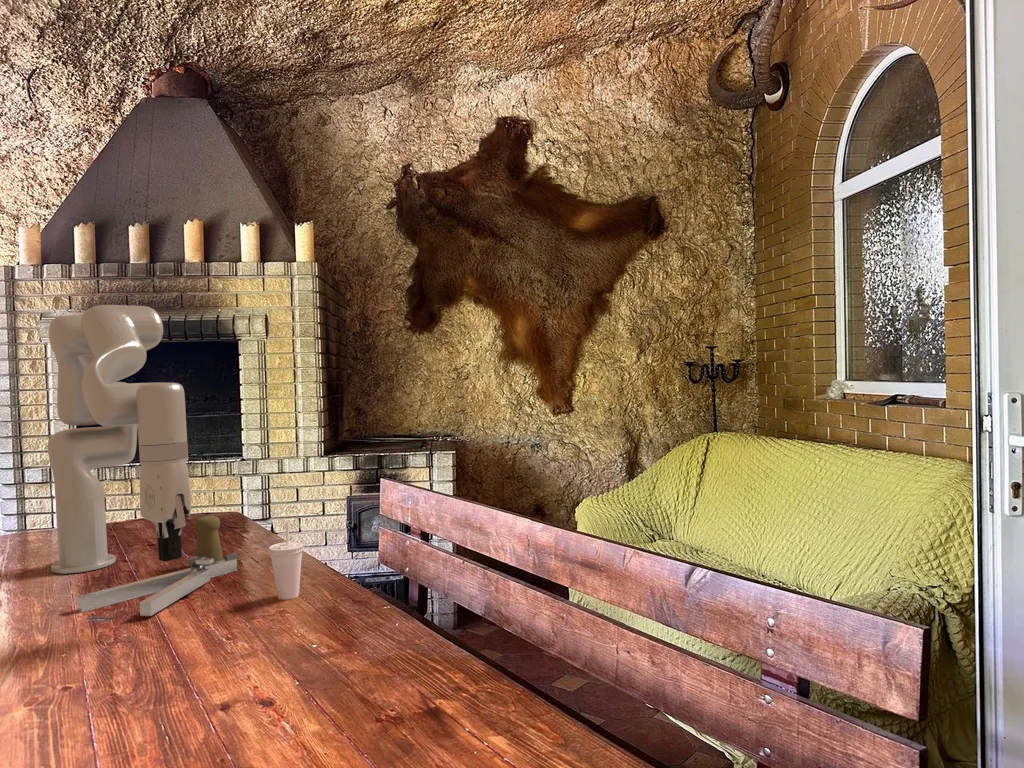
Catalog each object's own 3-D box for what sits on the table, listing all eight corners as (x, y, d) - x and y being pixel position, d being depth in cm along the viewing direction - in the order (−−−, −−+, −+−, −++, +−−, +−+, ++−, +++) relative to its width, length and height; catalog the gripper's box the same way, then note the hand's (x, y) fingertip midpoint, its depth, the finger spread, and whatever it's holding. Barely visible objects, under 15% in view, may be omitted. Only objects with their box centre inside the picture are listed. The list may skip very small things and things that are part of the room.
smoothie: (313, 592, 133) (309, 519, 133) (292, 603, 127) (288, 527, 127) (285, 589, 135) (281, 518, 135) (263, 600, 129) (259, 526, 129)
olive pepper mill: (213, 569, 152) (210, 519, 151) (188, 568, 153) (186, 519, 153) (229, 561, 158) (227, 513, 157) (206, 560, 159) (203, 513, 159)
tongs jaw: (121, 616, 122) (119, 593, 122) (194, 575, 146) (193, 555, 146) (151, 615, 122) (149, 592, 122) (219, 574, 146) (218, 555, 146)
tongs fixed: (77, 610, 128) (76, 590, 128) (234, 568, 152) (233, 552, 152) (82, 612, 127) (80, 593, 126) (239, 570, 150) (239, 553, 150)
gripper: (123, 455, 122) (129, 558, 122) (160, 458, 112) (167, 570, 112) (167, 450, 127) (173, 549, 128) (206, 452, 118) (212, 559, 118)
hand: (170, 559), depth 120 cm, fingers closed
